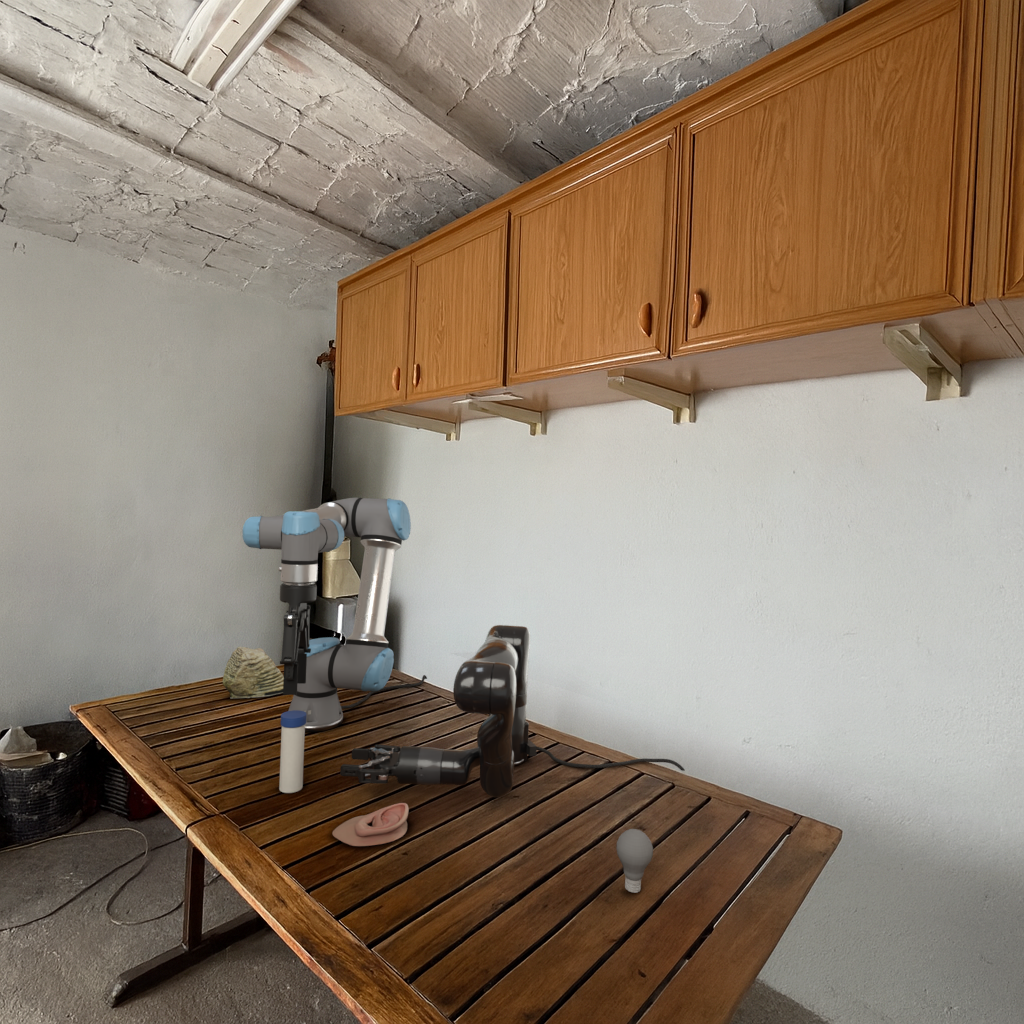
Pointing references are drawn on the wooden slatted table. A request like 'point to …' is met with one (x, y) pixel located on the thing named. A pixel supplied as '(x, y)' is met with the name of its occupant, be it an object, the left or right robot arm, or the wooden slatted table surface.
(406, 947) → the wooden slatted table surface
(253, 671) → the fossil
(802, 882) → the wooden slatted table surface
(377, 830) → the anatomical model
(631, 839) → the light bulb
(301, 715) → the lid
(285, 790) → the white bottle
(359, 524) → the left robot arm
